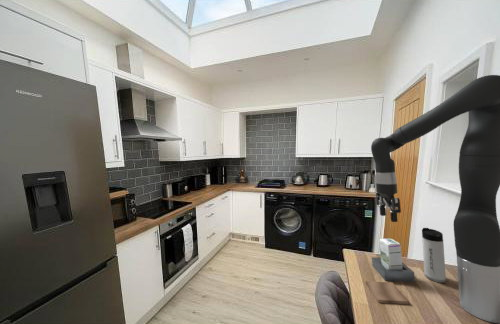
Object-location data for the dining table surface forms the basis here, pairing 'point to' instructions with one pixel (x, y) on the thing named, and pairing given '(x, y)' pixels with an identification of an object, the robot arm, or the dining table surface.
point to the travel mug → (433, 255)
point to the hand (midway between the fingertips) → (388, 218)
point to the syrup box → (390, 254)
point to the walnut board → (387, 292)
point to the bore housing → (393, 272)
